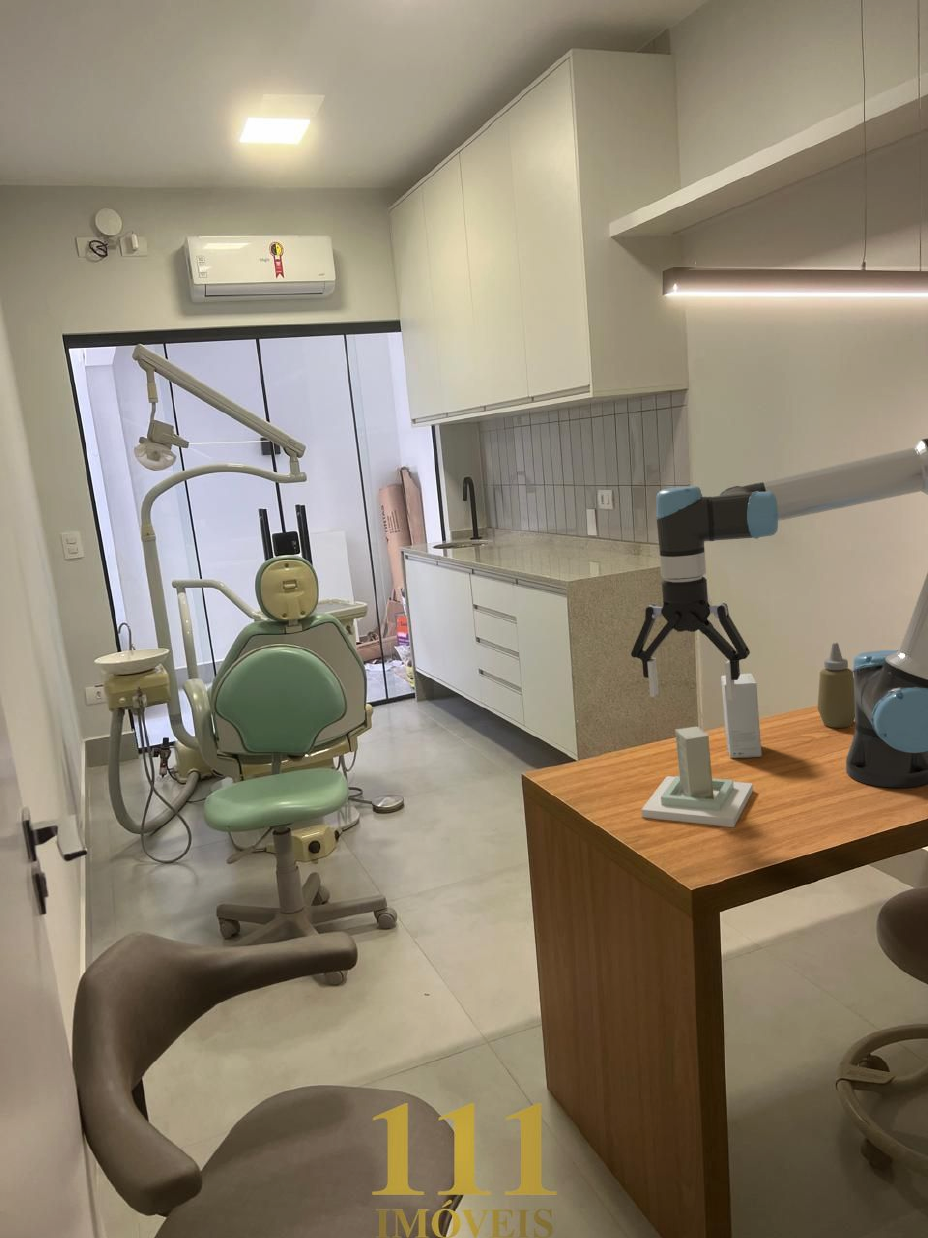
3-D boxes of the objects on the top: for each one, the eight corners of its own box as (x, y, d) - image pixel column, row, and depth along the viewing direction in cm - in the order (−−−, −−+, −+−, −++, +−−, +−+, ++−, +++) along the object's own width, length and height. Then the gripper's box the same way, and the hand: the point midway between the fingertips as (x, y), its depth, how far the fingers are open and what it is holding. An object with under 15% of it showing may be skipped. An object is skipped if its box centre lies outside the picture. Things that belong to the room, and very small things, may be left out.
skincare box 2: (761, 758, 180) (758, 683, 177) (727, 759, 182) (723, 685, 179) (757, 743, 188) (753, 672, 185) (724, 745, 190) (720, 674, 187)
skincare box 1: (714, 801, 159) (710, 736, 157) (690, 804, 159) (685, 739, 156) (702, 788, 165) (698, 725, 163) (678, 791, 165) (674, 728, 162)
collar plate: (753, 791, 165) (752, 775, 164) (733, 827, 151) (732, 810, 151) (667, 783, 173) (666, 768, 172) (641, 817, 159) (640, 801, 159)
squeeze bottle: (826, 732, 190) (823, 650, 187) (812, 720, 198) (809, 641, 195) (865, 728, 190) (862, 645, 187) (848, 716, 198) (846, 637, 195)
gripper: (763, 571, 151) (769, 692, 155) (621, 576, 163) (630, 687, 167) (754, 579, 145) (760, 705, 149) (607, 583, 157) (617, 699, 161)
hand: (692, 696), depth 158 cm, fingers open, 13 cm apart
